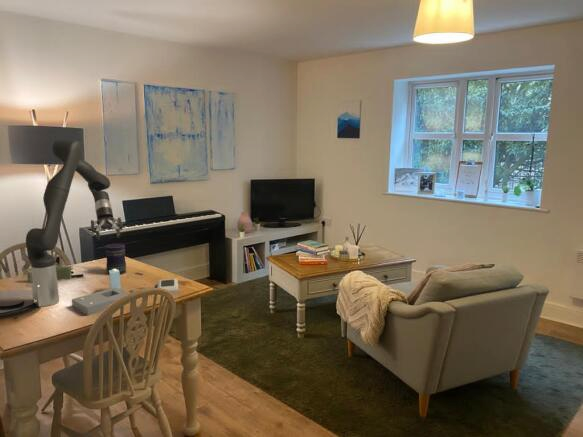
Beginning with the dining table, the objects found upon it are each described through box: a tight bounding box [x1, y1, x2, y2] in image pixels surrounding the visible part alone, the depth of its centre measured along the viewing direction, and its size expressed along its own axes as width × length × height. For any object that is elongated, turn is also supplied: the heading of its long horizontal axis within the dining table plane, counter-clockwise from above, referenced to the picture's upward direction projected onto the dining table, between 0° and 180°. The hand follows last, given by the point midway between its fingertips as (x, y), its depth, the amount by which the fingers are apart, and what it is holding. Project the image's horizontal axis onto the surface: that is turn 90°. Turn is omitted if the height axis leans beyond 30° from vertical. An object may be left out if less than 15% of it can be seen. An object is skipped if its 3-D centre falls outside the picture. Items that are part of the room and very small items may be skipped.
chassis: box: [71, 287, 129, 316], centre depth 195 cm, size 20×14×4 cm
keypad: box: [156, 278, 179, 295], centre depth 215 cm, size 10×4×15 cm
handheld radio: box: [26, 265, 84, 284], centre depth 227 cm, size 7×3×25 cm
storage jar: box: [104, 242, 127, 276], centre depth 238 cm, size 10×10×15 cm
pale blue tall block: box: [108, 269, 122, 290], centre depth 211 cm, size 4×4×11 cm
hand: (109, 238), depth 217 cm, fingers open, 8 cm apart
